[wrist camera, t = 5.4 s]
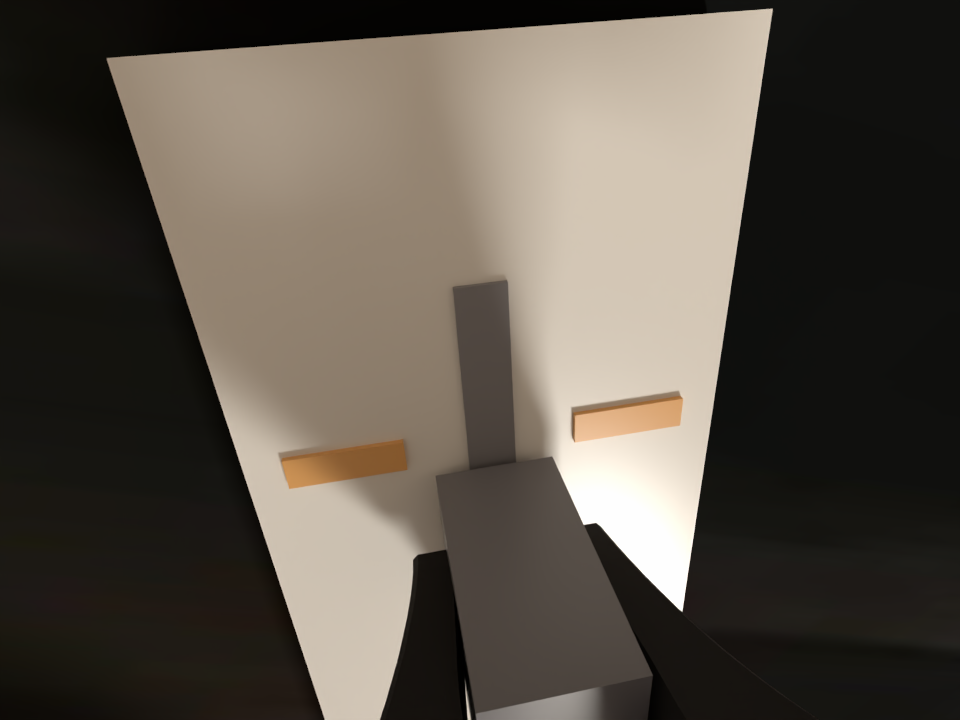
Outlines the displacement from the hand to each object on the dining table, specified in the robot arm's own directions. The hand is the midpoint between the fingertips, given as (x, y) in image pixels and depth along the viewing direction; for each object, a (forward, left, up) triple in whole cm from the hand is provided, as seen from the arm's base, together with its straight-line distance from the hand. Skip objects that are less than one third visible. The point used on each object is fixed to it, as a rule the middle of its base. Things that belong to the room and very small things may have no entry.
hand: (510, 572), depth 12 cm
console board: (0, -1, -3) cm, 4 cm away
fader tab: (0, 0, -1) cm, 1 cm away
